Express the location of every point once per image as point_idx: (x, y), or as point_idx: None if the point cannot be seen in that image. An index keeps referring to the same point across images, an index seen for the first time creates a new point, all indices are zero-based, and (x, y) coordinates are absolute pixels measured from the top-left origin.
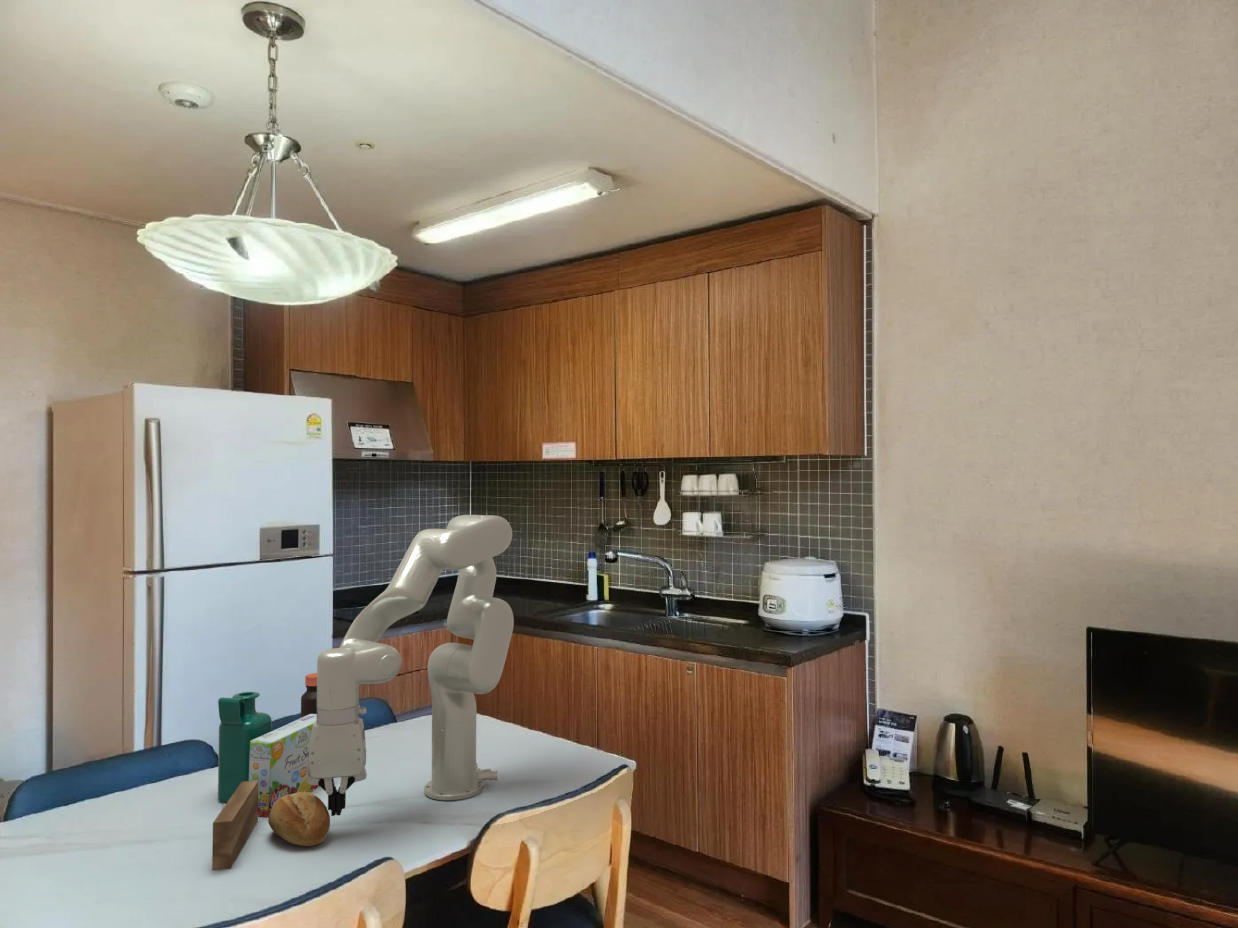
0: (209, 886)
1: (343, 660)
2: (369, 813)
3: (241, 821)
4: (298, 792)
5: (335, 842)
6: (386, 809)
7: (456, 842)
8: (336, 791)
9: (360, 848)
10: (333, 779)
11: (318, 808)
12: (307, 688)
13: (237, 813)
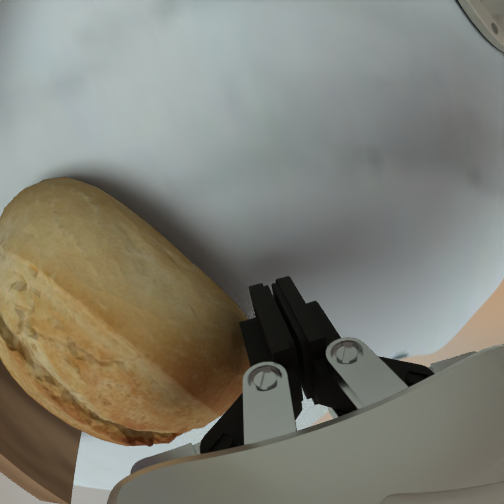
0: (102, 456)
1: None
2: (323, 73)
3: (12, 417)
4: (43, 331)
5: None
6: (373, 48)
7: (498, 281)
8: (296, 367)
9: (345, 336)
10: (293, 416)
11: (226, 403)
12: None
13: (34, 477)
